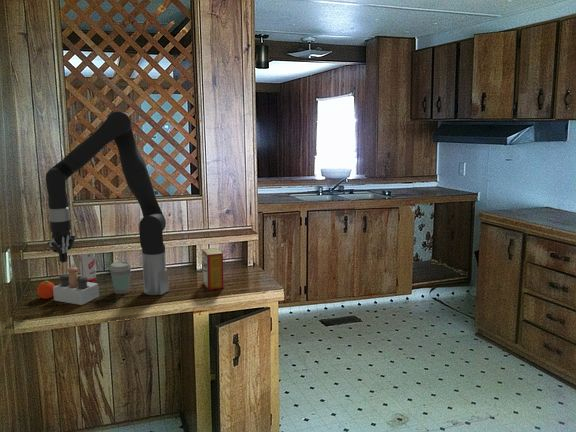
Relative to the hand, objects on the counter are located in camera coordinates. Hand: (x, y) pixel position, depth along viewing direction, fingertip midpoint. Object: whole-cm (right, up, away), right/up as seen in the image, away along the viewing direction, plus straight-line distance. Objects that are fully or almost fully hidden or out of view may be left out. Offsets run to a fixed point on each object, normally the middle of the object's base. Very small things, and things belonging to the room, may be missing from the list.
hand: (63, 261), depth 208 cm
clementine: (-8, -15, +3) cm, 17 cm away
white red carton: (+1, -11, +22) cm, 25 cm away
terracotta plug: (+4, -10, +1) cm, 11 cm away
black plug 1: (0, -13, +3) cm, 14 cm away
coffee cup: (+20, -14, +11) cm, 26 cm away
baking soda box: (+56, -12, +19) cm, 61 cm away
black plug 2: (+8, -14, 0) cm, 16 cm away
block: (+4, -15, +3) cm, 16 cm away
